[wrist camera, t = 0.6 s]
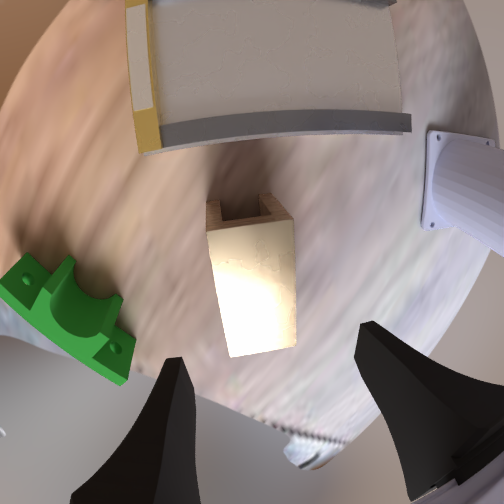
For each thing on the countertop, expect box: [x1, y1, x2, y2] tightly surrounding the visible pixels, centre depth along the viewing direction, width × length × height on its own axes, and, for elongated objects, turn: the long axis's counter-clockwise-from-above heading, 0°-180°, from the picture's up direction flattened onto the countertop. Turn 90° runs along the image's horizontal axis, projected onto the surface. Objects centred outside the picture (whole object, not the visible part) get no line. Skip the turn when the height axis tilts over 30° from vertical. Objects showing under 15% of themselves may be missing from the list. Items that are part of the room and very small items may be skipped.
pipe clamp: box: [0, 252, 136, 386], centre depth 17 cm, size 11×4×5 cm, turn 42°
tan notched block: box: [206, 193, 296, 357], centre depth 17 cm, size 8×4×5 cm, turn 6°
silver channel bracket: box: [125, 0, 412, 156], centre depth 12 cm, size 16×11×3 cm
